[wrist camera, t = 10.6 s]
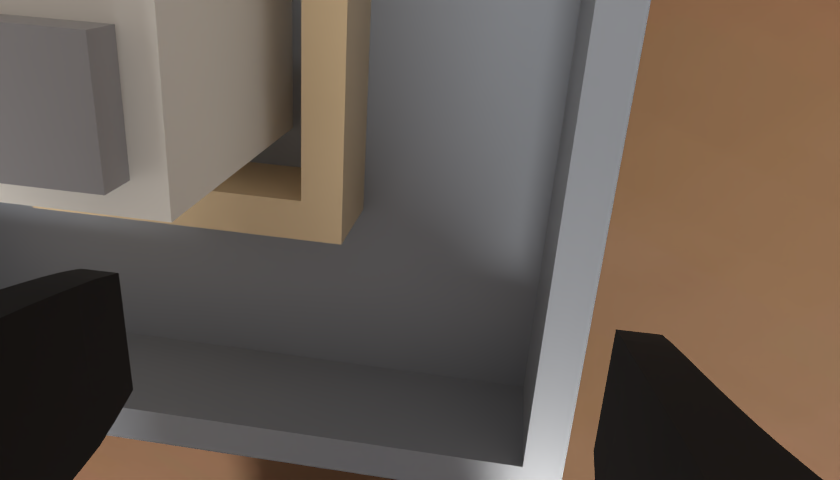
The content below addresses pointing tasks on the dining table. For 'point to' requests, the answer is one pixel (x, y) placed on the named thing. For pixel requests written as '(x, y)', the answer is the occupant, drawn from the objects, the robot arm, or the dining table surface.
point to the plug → (138, 100)
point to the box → (383, 247)
